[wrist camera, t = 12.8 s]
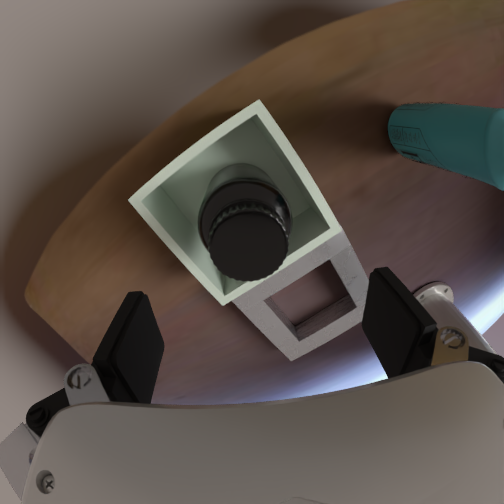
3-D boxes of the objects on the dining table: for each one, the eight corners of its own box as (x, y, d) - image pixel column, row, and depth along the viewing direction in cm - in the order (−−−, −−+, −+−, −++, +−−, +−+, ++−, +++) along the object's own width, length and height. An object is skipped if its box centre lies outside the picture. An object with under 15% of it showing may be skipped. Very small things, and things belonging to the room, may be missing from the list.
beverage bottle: (376, 152, 26) (530, 211, 8) (380, 95, 23) (540, 99, 5) (419, 161, 27) (556, 221, 9) (424, 109, 24) (567, 135, 6)
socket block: (372, 295, 35) (381, 308, 32) (287, 346, 37) (291, 361, 35) (330, 215, 29) (340, 224, 26) (227, 281, 32) (227, 296, 29)
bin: (318, 206, 28) (342, 230, 22) (223, 268, 31) (222, 306, 25) (251, 106, 23) (259, 99, 17) (150, 181, 26) (127, 199, 20)
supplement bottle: (192, 195, 26) (166, 247, 15) (242, 147, 24) (252, 164, 14) (239, 240, 29) (246, 313, 18) (288, 197, 27) (327, 248, 16)
